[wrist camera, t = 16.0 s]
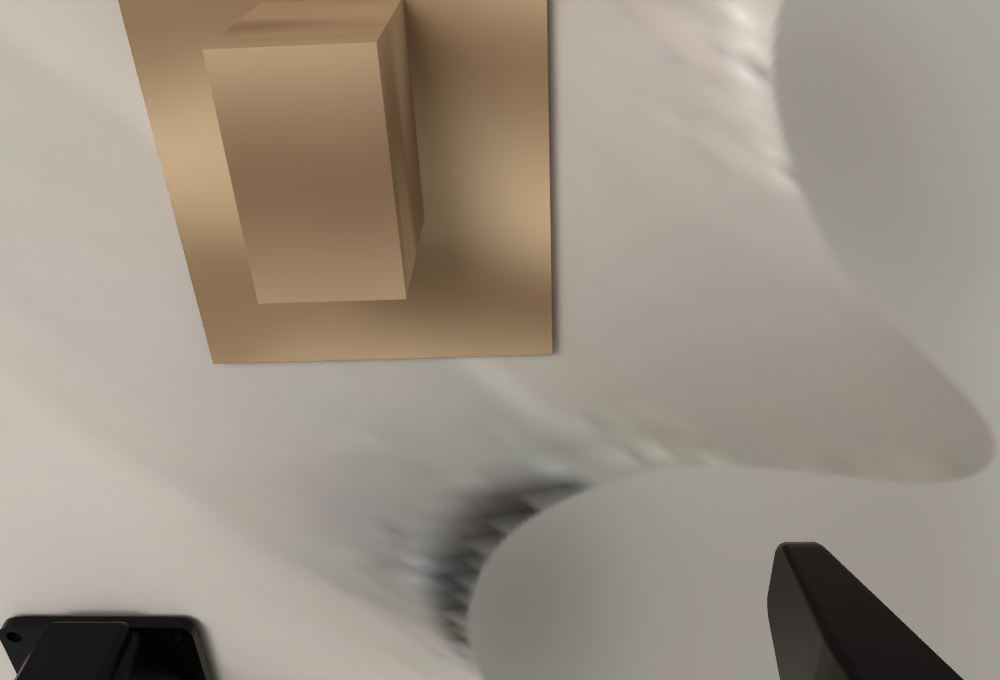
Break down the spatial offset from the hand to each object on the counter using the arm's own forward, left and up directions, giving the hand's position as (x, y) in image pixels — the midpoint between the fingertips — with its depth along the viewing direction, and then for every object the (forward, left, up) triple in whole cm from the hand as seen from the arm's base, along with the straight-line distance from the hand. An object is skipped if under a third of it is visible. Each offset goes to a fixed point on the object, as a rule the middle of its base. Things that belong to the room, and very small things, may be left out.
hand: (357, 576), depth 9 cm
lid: (+2, +2, -14) cm, 14 cm away
